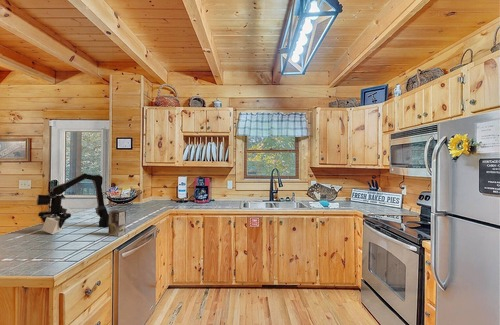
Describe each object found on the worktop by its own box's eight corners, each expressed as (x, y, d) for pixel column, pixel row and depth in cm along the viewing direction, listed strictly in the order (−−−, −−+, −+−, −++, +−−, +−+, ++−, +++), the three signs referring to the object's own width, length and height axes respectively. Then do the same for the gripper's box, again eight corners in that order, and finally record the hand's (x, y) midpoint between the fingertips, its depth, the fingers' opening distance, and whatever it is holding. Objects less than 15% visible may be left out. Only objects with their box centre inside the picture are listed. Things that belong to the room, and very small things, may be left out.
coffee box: (125, 234, 182) (126, 211, 182) (118, 236, 176) (119, 212, 176) (115, 232, 185) (116, 209, 185) (107, 234, 179) (108, 211, 179)
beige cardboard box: (60, 231, 182) (65, 219, 182) (52, 234, 174) (56, 221, 174) (50, 227, 182) (55, 215, 182) (41, 229, 174) (46, 217, 174)
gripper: (77, 204, 186) (75, 226, 186) (51, 201, 187) (49, 223, 186) (66, 206, 175) (63, 229, 175) (38, 204, 176) (36, 227, 175)
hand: (53, 227), depth 178 cm, fingers open, 9 cm apart
